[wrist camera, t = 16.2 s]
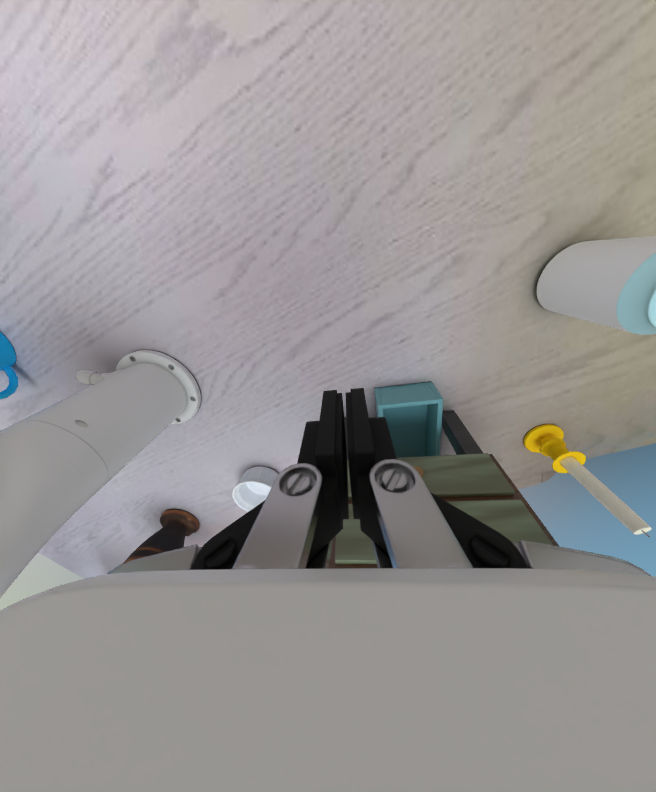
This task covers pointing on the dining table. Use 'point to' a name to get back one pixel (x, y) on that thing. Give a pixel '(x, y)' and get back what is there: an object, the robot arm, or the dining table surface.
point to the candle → (580, 473)
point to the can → (604, 283)
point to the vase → (168, 534)
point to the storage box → (412, 417)
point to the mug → (8, 365)
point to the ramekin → (254, 487)
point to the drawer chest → (452, 497)
